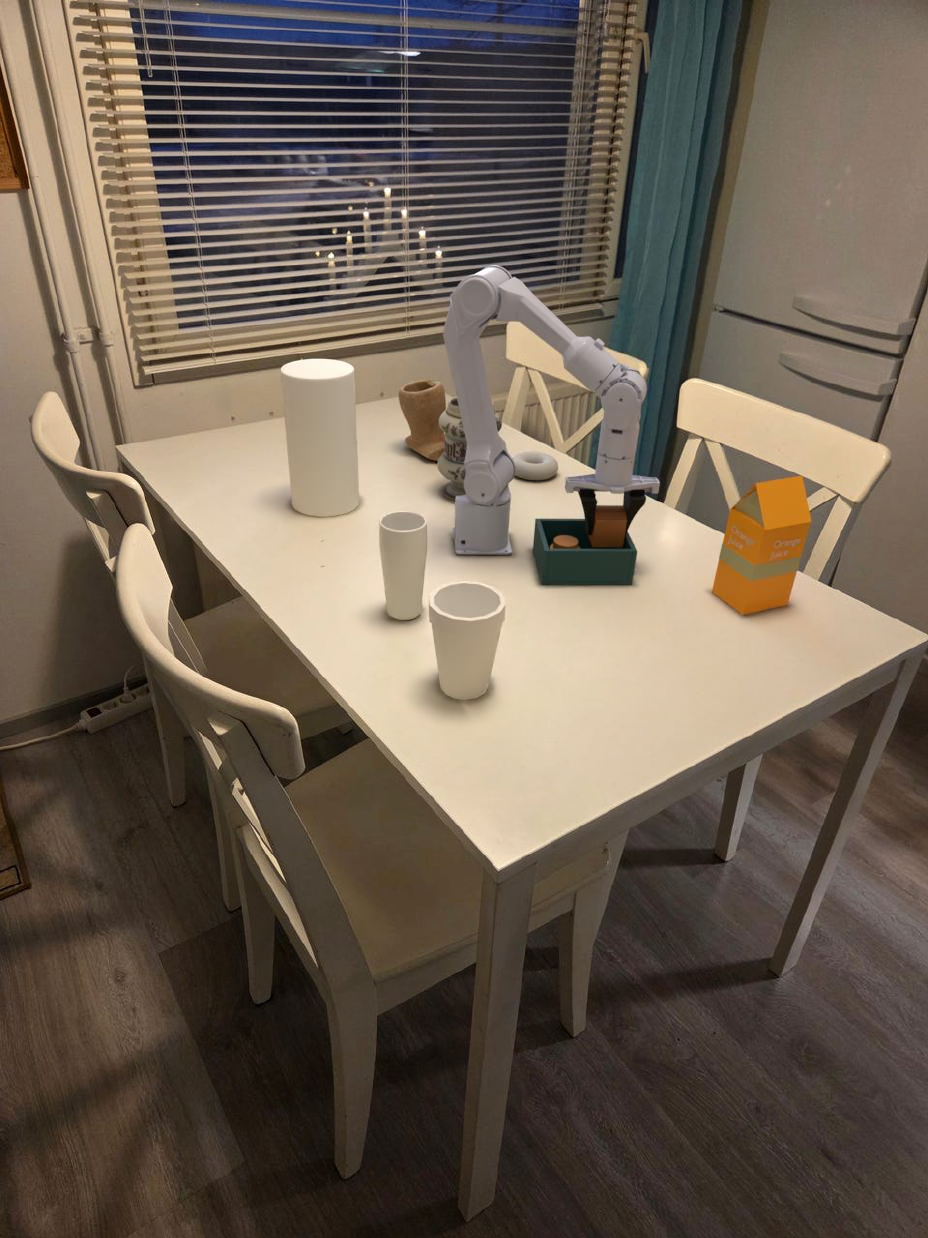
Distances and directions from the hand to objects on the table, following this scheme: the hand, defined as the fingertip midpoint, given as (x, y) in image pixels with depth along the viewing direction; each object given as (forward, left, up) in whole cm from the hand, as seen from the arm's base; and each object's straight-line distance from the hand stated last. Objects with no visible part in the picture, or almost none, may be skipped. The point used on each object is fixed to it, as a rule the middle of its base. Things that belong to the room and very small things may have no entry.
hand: (605, 532), depth 134 cm
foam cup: (-24, -33, -6) cm, 41 cm away
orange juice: (+22, -11, -6) cm, 25 cm away
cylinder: (-47, +24, -6) cm, 54 cm away
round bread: (-6, -1, -6) cm, 9 cm away
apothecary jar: (-20, +29, -6) cm, 36 cm away
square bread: (0, 0, -1) cm, 1 cm away
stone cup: (-27, +50, -6) cm, 58 cm away
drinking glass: (-32, -15, -6) cm, 36 cm away
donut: (-6, +39, -6) cm, 41 cm away
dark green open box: (-3, -1, -6) cm, 7 cm away
